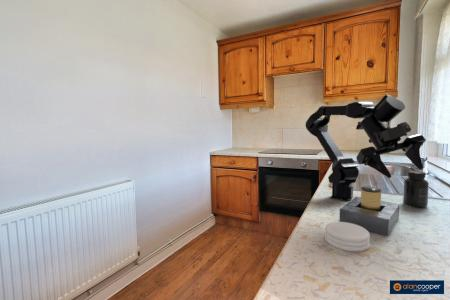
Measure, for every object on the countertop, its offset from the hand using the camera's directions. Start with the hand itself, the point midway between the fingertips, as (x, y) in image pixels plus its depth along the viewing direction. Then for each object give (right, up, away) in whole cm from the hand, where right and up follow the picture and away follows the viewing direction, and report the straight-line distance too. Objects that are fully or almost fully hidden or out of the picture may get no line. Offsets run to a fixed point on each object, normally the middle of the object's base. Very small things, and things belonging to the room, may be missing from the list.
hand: (406, 173), depth 69 cm
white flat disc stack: (-22, -17, -10) cm, 30 cm away
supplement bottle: (+15, -13, +15) cm, 25 cm away
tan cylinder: (-9, -15, +2) cm, 17 cm away
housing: (-9, -15, +2) cm, 17 cm away
